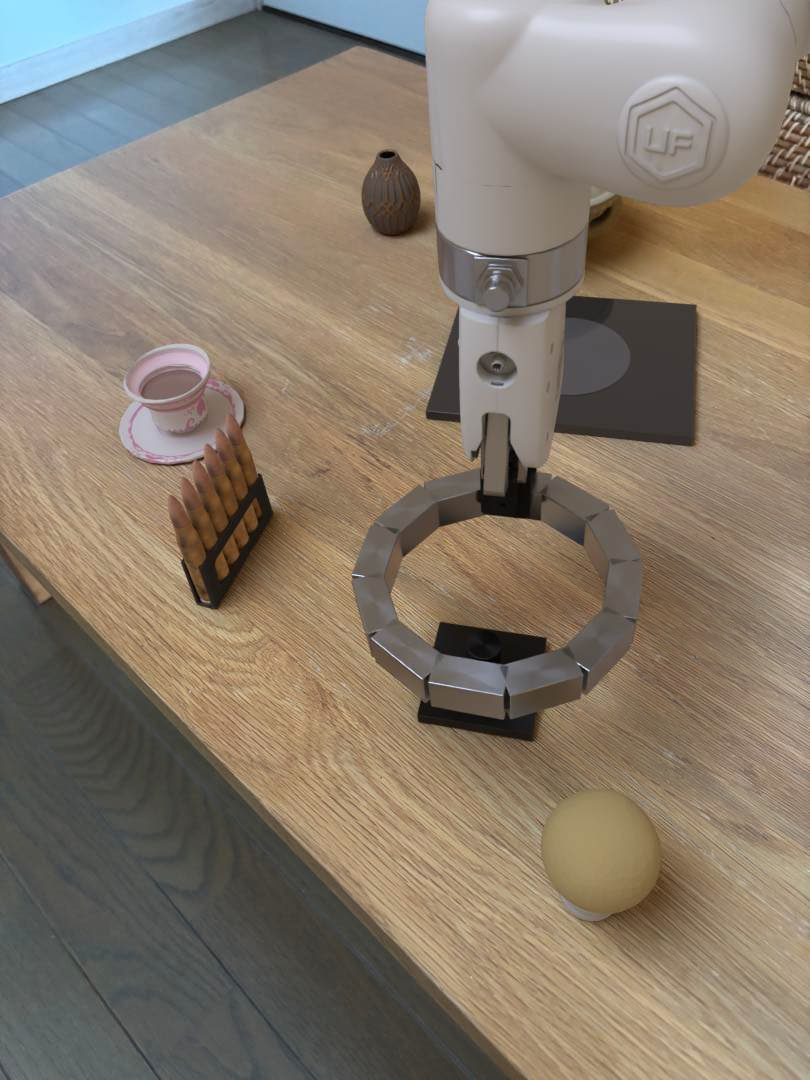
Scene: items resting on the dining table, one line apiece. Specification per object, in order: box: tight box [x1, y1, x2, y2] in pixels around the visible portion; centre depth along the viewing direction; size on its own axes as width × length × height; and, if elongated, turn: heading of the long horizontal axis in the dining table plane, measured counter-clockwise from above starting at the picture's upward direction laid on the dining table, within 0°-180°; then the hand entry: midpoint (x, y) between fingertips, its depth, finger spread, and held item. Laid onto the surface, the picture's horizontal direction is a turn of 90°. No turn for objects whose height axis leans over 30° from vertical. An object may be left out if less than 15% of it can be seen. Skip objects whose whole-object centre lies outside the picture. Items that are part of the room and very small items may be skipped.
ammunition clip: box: [167, 413, 274, 610], centre depth 67 cm, size 11×2×12 cm, turn 160°
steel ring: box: [350, 466, 645, 720], centre depth 53 cm, size 17×17×3 cm
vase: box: [360, 148, 422, 236], centre depth 100 cm, size 7×7×9 cm
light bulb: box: [540, 788, 663, 922], centre depth 48 cm, size 6×6×10 cm
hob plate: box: [425, 295, 698, 447], centre depth 84 cm, size 24×20×1 cm
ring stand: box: [416, 621, 548, 742], centre depth 60 cm, size 8×8×5 cm
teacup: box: [118, 343, 245, 465], centre depth 80 cm, size 12×12×6 cm
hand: (508, 496), depth 58 cm, fingers closed on steel ring, 2 cm apart
